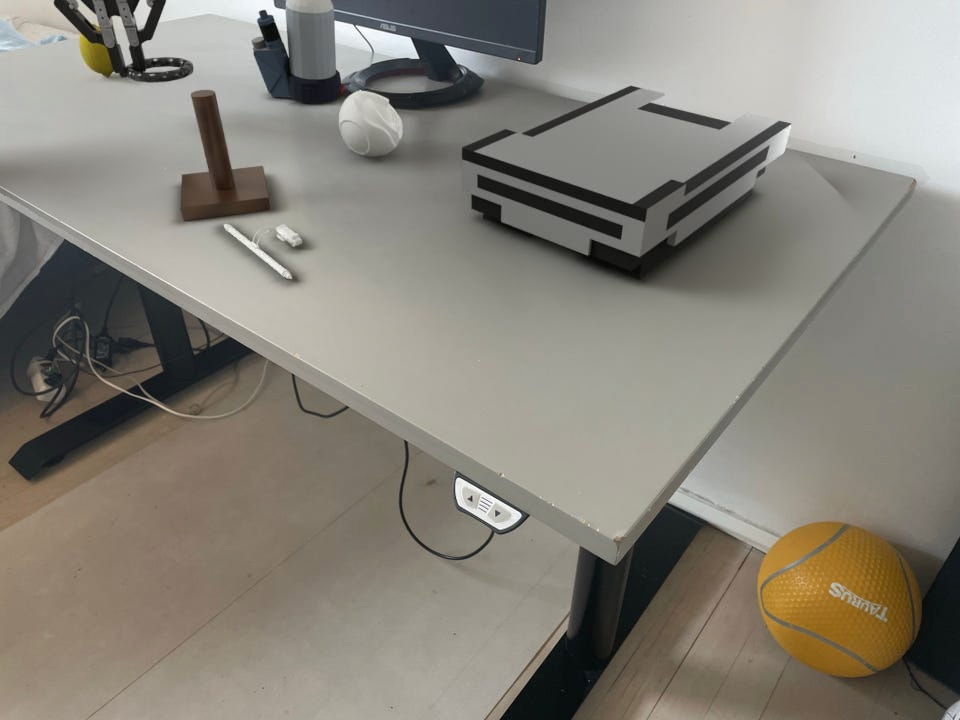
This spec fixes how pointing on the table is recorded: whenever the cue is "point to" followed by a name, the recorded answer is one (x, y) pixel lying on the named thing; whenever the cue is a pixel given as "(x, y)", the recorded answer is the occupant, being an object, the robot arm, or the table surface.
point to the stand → (219, 172)
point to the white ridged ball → (369, 124)
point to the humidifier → (312, 51)
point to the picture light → (284, 235)
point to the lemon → (96, 56)
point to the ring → (167, 76)
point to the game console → (621, 176)
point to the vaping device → (271, 56)
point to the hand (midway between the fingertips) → (131, 75)
